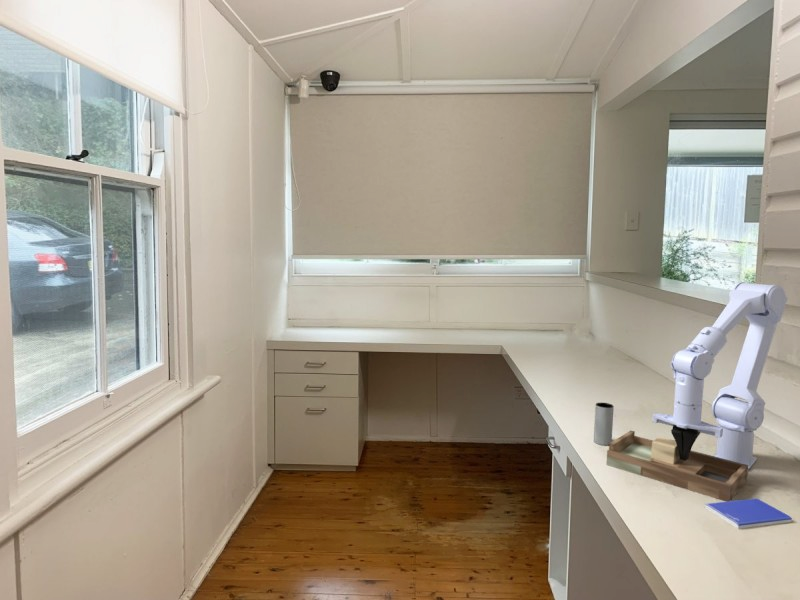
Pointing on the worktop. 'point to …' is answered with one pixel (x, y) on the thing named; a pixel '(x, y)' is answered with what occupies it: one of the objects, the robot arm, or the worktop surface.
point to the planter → (603, 423)
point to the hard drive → (748, 513)
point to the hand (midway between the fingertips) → (683, 458)
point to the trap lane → (679, 468)
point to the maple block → (665, 450)
